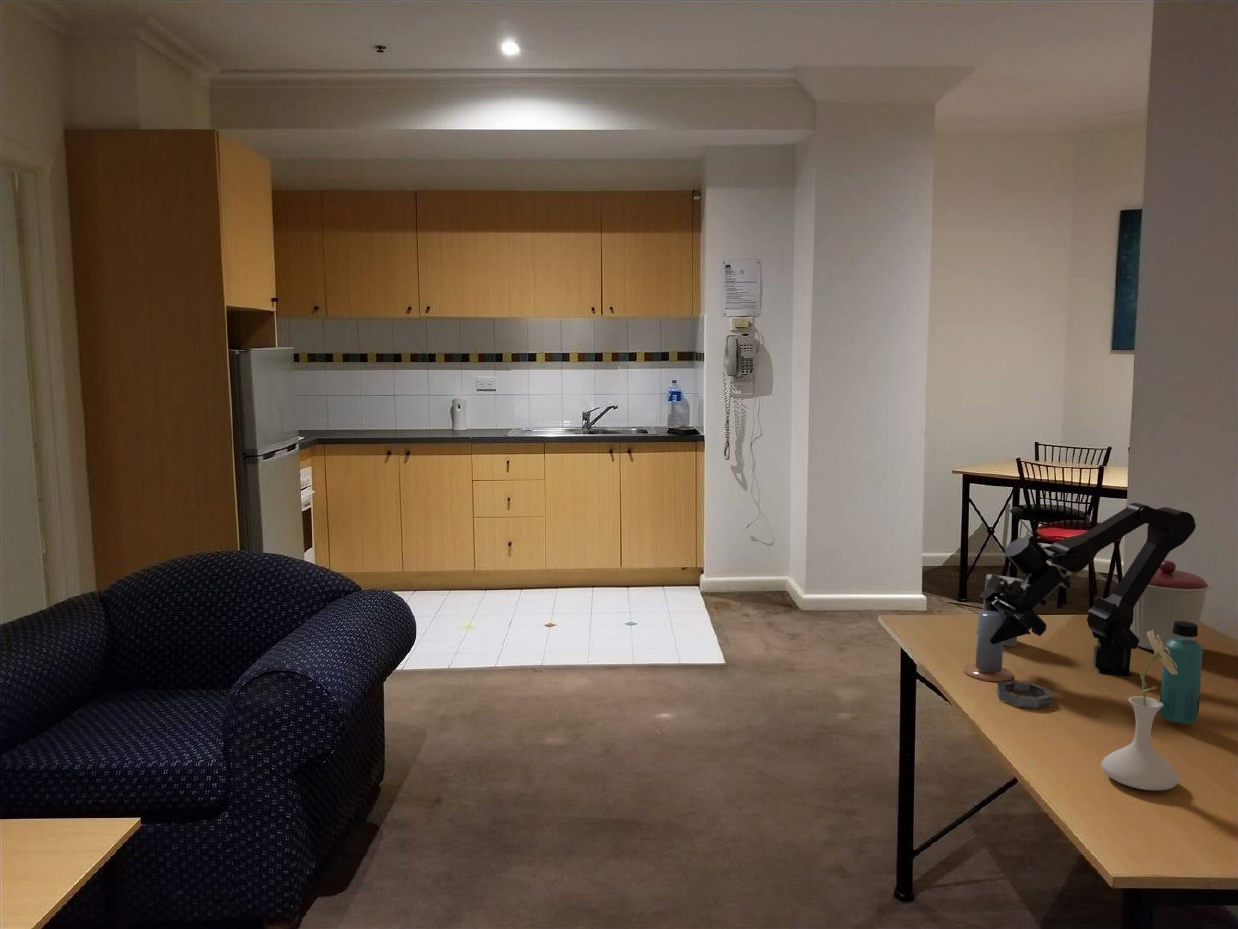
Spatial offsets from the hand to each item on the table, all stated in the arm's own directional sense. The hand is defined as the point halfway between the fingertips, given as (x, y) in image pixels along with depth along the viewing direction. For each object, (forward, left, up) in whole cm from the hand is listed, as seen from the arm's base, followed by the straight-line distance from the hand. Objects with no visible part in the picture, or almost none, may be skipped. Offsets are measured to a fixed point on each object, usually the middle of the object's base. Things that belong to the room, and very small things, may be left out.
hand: (984, 638), depth 209 cm
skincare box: (-6, -26, -8) cm, 28 cm away
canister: (-43, -34, -8) cm, 55 cm away
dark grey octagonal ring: (-7, +13, -8) cm, 17 cm away
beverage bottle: (-33, +18, -8) cm, 39 cm away
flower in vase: (-20, +46, -8) cm, 51 cm away
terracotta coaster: (-1, -1, -8) cm, 8 cm away
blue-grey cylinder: (-1, -1, -7) cm, 7 cm away
